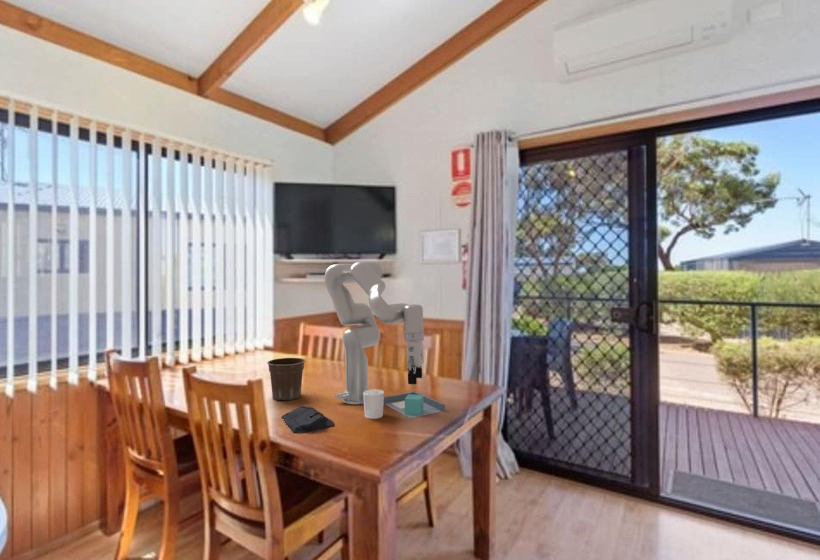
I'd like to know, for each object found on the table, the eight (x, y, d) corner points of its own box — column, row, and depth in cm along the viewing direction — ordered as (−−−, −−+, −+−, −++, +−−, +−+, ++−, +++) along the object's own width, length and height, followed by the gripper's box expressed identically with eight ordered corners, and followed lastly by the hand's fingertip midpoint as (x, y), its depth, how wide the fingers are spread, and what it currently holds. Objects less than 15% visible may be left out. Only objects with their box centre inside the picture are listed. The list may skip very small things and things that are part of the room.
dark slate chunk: (317, 411, 180) (316, 399, 180) (336, 428, 161) (336, 415, 161) (278, 418, 172) (278, 405, 172) (294, 436, 153) (294, 423, 153)
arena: (410, 420, 166) (409, 411, 166) (382, 405, 185) (382, 397, 185) (444, 413, 175) (444, 404, 175) (415, 399, 194) (415, 391, 193)
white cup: (373, 413, 175) (373, 388, 175) (388, 417, 170) (388, 391, 170) (359, 418, 169) (358, 392, 169) (374, 423, 164) (373, 396, 164)
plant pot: (293, 389, 210) (292, 355, 210) (313, 396, 199) (312, 360, 199) (261, 397, 198) (260, 361, 198) (280, 404, 187) (279, 366, 187)
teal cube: (420, 415, 170) (420, 399, 169) (404, 414, 171) (404, 398, 171) (423, 410, 175) (423, 395, 175) (408, 409, 177) (408, 394, 177)
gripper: (418, 340, 163) (419, 386, 163) (427, 333, 180) (429, 375, 180) (398, 340, 165) (400, 386, 165) (409, 333, 181) (411, 375, 182)
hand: (415, 380), depth 172 cm, fingers open, 9 cm apart
